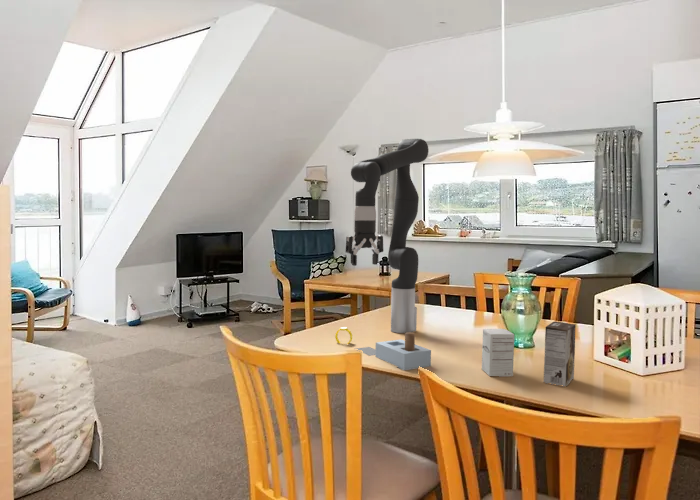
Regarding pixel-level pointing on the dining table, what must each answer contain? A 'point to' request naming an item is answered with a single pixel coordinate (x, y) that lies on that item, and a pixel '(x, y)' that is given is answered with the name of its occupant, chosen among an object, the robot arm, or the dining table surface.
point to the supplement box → (498, 352)
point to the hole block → (403, 355)
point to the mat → (368, 350)
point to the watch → (343, 330)
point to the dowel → (409, 341)
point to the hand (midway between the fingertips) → (364, 264)
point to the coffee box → (559, 353)
